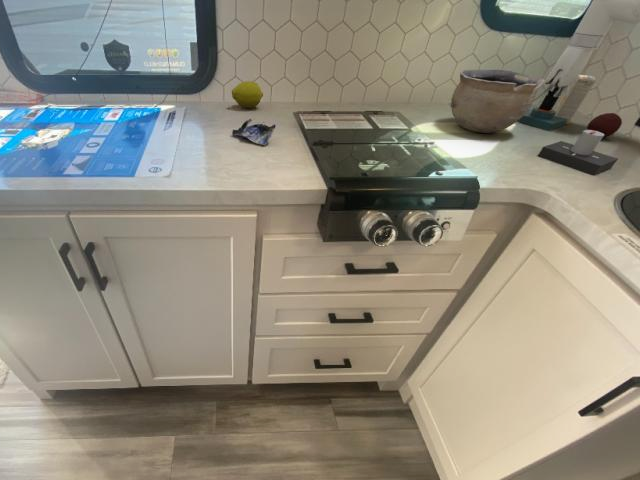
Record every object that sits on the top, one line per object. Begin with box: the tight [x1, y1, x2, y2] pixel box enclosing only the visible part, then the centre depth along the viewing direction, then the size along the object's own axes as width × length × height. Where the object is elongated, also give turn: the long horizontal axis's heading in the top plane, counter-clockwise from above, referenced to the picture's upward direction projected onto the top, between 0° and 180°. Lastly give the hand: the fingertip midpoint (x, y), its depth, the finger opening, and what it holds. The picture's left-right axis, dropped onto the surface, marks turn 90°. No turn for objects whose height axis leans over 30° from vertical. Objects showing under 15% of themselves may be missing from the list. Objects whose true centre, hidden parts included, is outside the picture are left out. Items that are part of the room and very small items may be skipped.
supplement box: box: [554, 74, 597, 125], centre depth 116 cm, size 8×5×13 cm, turn 147°
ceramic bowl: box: [450, 69, 546, 134], centre depth 106 cm, size 22×22×15 cm
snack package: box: [231, 118, 277, 147], centre depth 98 cm, size 12×6×12 cm
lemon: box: [231, 80, 264, 109], centre depth 117 cm, size 11×8×8 cm
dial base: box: [537, 140, 619, 176], centre depth 93 cm, size 14×10×3 cm
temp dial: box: [571, 129, 604, 155], centre depth 90 cm, size 4×4×5 cm
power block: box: [517, 106, 568, 131], centre depth 117 cm, size 12×10×4 cm
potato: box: [586, 112, 623, 139], centre depth 107 cm, size 7×8×7 cm
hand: (544, 109), depth 115 cm, fingers closed
